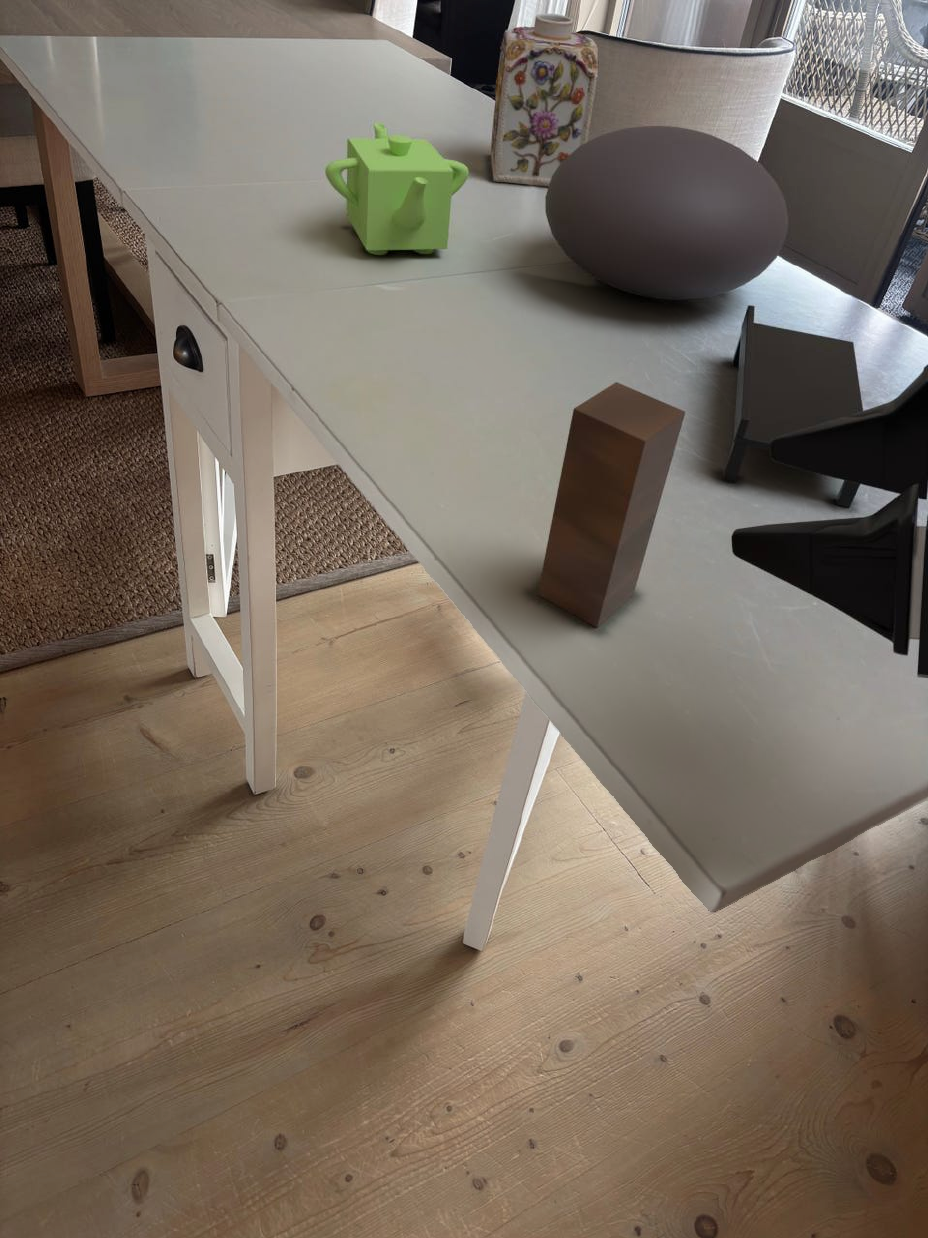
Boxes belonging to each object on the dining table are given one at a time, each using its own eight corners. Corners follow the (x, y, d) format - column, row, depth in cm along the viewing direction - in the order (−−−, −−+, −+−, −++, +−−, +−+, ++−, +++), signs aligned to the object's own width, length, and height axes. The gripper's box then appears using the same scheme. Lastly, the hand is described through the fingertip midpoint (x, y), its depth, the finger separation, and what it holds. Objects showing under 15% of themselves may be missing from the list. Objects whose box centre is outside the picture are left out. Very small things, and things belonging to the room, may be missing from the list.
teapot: (373, 208, 110) (377, 108, 103) (477, 236, 107) (488, 134, 100) (305, 247, 100) (304, 139, 93) (419, 279, 96) (426, 169, 89)
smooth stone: (592, 342, 89) (625, 177, 79) (502, 242, 106) (520, 95, 96) (809, 328, 97) (864, 175, 87) (691, 236, 114) (726, 100, 104)
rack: (837, 381, 88) (859, 326, 84) (851, 509, 72) (879, 447, 68) (731, 360, 89) (748, 304, 86) (720, 480, 73) (741, 418, 69)
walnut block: (634, 594, 62) (685, 411, 53) (596, 628, 59) (645, 441, 50) (575, 563, 64) (616, 381, 55) (537, 594, 61) (573, 408, 52)
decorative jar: (572, 163, 131) (596, 12, 119) (580, 190, 123) (607, 31, 111) (487, 154, 131) (503, 2, 119) (489, 182, 122) (507, 20, 110)
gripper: (1183, 209, 38) (782, 252, 45) (1284, 379, 25) (689, 403, 32) (1137, 461, 44) (788, 464, 51) (1199, 711, 30) (712, 668, 37)
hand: (753, 492), depth 43 cm, fingers open, 9 cm apart
